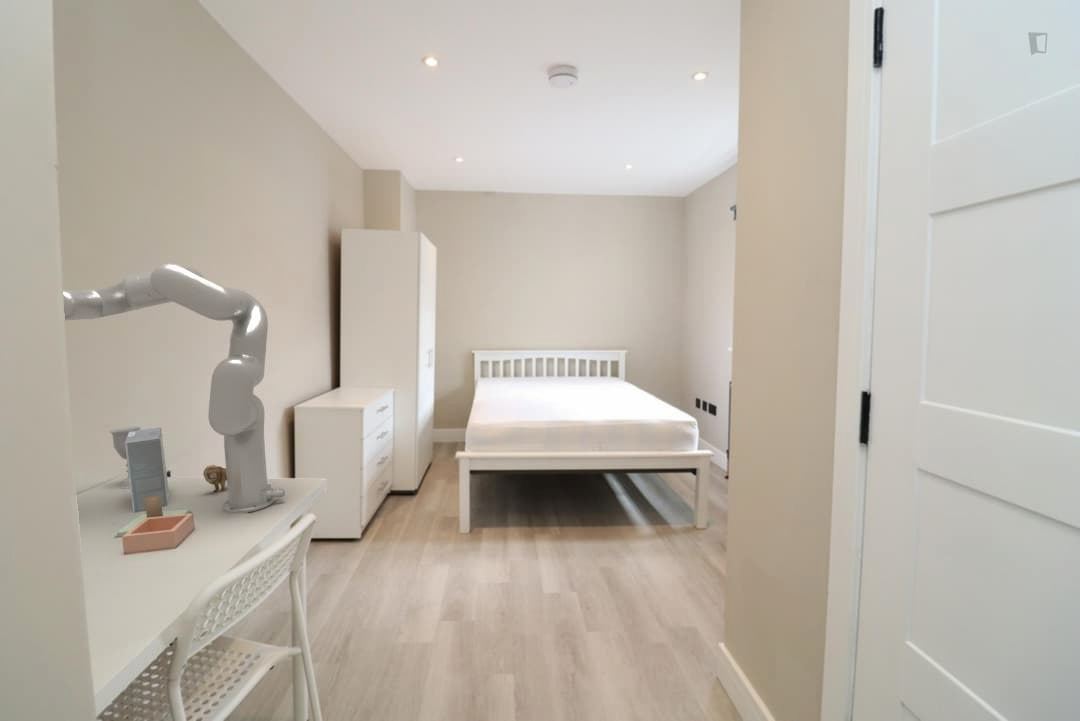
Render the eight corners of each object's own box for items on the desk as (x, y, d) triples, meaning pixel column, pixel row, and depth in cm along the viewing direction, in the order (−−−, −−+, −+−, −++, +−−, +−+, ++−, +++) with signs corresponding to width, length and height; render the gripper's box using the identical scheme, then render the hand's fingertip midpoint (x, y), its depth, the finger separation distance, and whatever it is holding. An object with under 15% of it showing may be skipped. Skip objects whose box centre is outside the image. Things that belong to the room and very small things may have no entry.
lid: (190, 512, 130) (187, 487, 129) (170, 530, 120) (167, 503, 119) (142, 517, 128) (139, 491, 127) (117, 536, 117) (114, 508, 116)
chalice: (120, 491, 147) (114, 433, 145) (112, 487, 151) (106, 430, 149) (150, 484, 153) (144, 428, 151) (141, 480, 157) (135, 425, 155)
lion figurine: (212, 498, 141) (210, 468, 140) (200, 496, 143) (197, 466, 142) (258, 481, 155) (256, 454, 154) (246, 479, 157) (244, 452, 156)
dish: (194, 530, 121) (193, 513, 120) (175, 549, 111) (173, 531, 110) (147, 535, 118) (146, 517, 118) (124, 555, 108) (122, 536, 108)
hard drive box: (136, 497, 143) (128, 430, 140) (168, 491, 147) (162, 426, 145) (132, 514, 130) (124, 442, 128) (168, 507, 135) (161, 437, 133)
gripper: (34, 342, 113) (43, 415, 115) (75, 338, 129) (83, 402, 131) (-9, 344, 110) (1, 418, 112) (39, 339, 126) (47, 404, 128)
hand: (45, 409), depth 121 cm, fingers open, 9 cm apart
